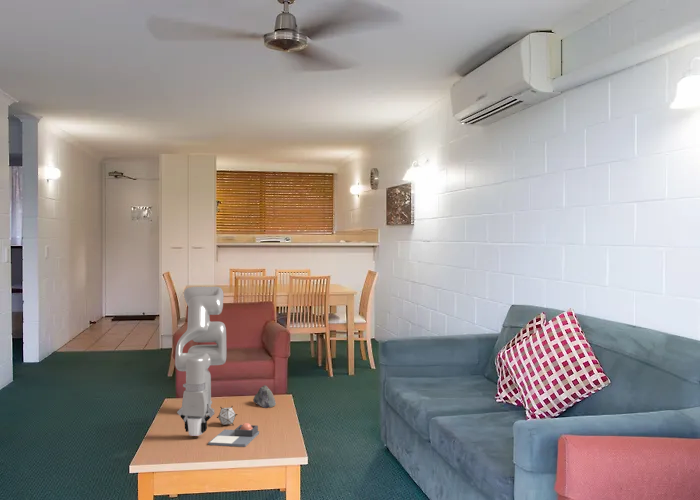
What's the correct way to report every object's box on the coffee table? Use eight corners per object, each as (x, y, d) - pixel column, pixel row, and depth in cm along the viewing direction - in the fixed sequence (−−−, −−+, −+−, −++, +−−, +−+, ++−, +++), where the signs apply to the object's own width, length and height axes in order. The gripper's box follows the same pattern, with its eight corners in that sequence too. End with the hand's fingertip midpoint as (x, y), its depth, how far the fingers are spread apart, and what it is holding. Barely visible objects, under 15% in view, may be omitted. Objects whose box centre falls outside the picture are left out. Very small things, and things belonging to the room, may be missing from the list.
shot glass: (188, 437, 258) (188, 419, 257) (185, 432, 264) (185, 415, 264) (206, 435, 260) (205, 417, 260) (202, 430, 267) (202, 413, 267)
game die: (229, 434, 279) (231, 419, 273) (212, 426, 280) (213, 411, 275) (239, 420, 286) (241, 405, 280) (222, 412, 288) (224, 397, 282)
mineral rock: (253, 402, 321) (253, 382, 321) (274, 401, 323) (274, 381, 323) (253, 408, 308) (253, 387, 308) (275, 408, 310) (275, 387, 310)
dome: (242, 431, 267) (242, 421, 267) (254, 432, 266) (254, 421, 266) (238, 435, 262) (238, 424, 262) (250, 435, 261) (250, 425, 261)
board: (224, 431, 270) (224, 423, 270) (259, 433, 268) (259, 425, 268) (208, 445, 252) (208, 436, 252) (245, 446, 250) (245, 437, 250)
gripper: (171, 388, 259) (171, 433, 260) (212, 390, 257) (212, 435, 257) (179, 384, 267) (179, 427, 267) (219, 385, 264) (219, 429, 264)
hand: (195, 430), depth 262 cm, fingers closed on shot glass, 6 cm apart
